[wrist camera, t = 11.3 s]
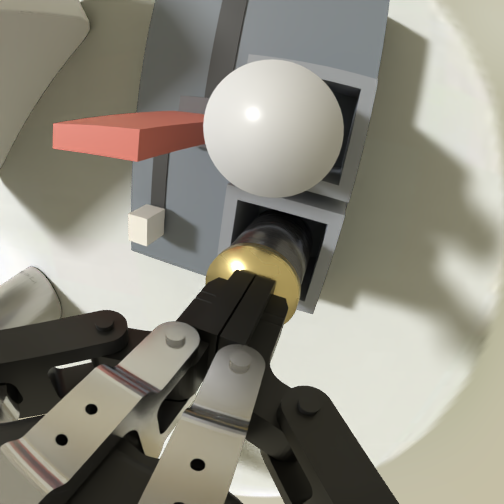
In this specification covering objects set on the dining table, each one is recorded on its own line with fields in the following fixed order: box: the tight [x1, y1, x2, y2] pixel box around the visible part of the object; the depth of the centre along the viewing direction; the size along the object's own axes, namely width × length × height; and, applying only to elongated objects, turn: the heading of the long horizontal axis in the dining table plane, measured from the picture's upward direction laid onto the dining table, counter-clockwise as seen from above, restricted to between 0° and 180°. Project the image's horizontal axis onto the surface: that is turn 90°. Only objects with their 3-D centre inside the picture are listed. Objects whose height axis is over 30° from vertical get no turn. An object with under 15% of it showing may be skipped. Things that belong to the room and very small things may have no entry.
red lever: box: [53, 95, 210, 162], centre depth 13 cm, size 3×4×10 cm
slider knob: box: [128, 204, 165, 246], centre depth 20 cm, size 2×2×2 cm
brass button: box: [206, 209, 313, 324], centre depth 14 cm, size 4×4×5 cm
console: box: [131, 0, 390, 314], centre depth 17 cm, size 21×15×8 cm
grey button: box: [203, 59, 344, 198], centre depth 9 cm, size 4×4×5 cm
